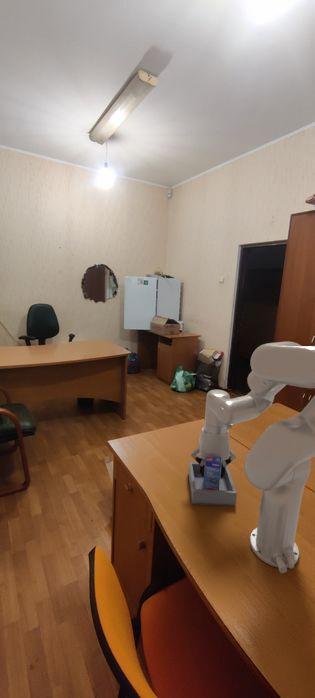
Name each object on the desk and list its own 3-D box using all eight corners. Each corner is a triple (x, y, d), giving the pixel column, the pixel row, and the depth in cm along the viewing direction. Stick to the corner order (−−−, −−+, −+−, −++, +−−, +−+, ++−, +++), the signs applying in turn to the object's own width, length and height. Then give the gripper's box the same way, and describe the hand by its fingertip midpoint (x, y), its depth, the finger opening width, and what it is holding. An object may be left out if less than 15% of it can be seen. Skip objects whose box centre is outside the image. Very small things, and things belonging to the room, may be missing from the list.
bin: (235, 506, 97) (236, 493, 96) (192, 504, 98) (193, 491, 96) (225, 475, 113) (226, 463, 112) (188, 473, 113) (189, 462, 112)
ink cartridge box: (203, 475, 110) (206, 439, 107) (218, 477, 109) (222, 441, 106) (202, 492, 100) (206, 454, 97) (218, 495, 100) (223, 456, 96)
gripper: (238, 422, 104) (234, 469, 107) (188, 420, 104) (186, 467, 108) (244, 433, 96) (239, 483, 100) (190, 431, 96) (187, 480, 100)
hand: (211, 474), depth 104 cm, fingers closed on ink cartridge box, 5 cm apart
